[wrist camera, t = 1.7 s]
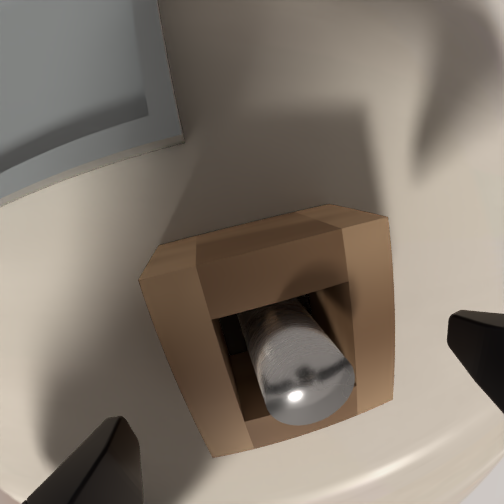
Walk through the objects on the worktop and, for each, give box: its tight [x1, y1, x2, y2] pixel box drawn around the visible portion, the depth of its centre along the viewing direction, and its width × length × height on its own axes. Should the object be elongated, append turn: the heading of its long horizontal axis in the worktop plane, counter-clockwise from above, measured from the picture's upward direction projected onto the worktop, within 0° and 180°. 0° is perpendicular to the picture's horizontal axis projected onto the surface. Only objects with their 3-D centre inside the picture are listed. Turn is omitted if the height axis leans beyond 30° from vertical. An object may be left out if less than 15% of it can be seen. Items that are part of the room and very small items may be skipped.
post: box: [237, 297, 355, 425], centre depth 9 cm, size 2×2×6 cm
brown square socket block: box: [138, 204, 395, 458], centre depth 10 cm, size 6×6×4 cm
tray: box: [0, 0, 185, 207], centre depth 7 cm, size 11×11×2 cm
